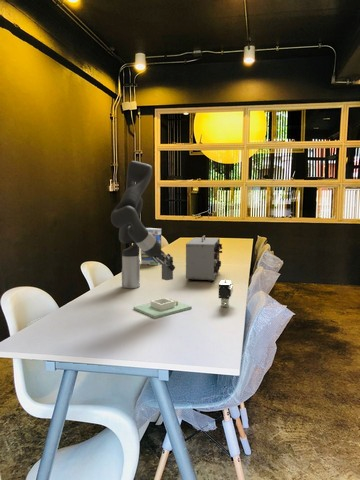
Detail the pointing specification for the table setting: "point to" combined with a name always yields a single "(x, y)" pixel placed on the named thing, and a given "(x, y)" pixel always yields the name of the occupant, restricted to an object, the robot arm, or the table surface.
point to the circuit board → (162, 307)
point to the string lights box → (157, 235)
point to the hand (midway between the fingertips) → (170, 268)
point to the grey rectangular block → (166, 272)
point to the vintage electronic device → (203, 258)
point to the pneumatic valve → (225, 292)
